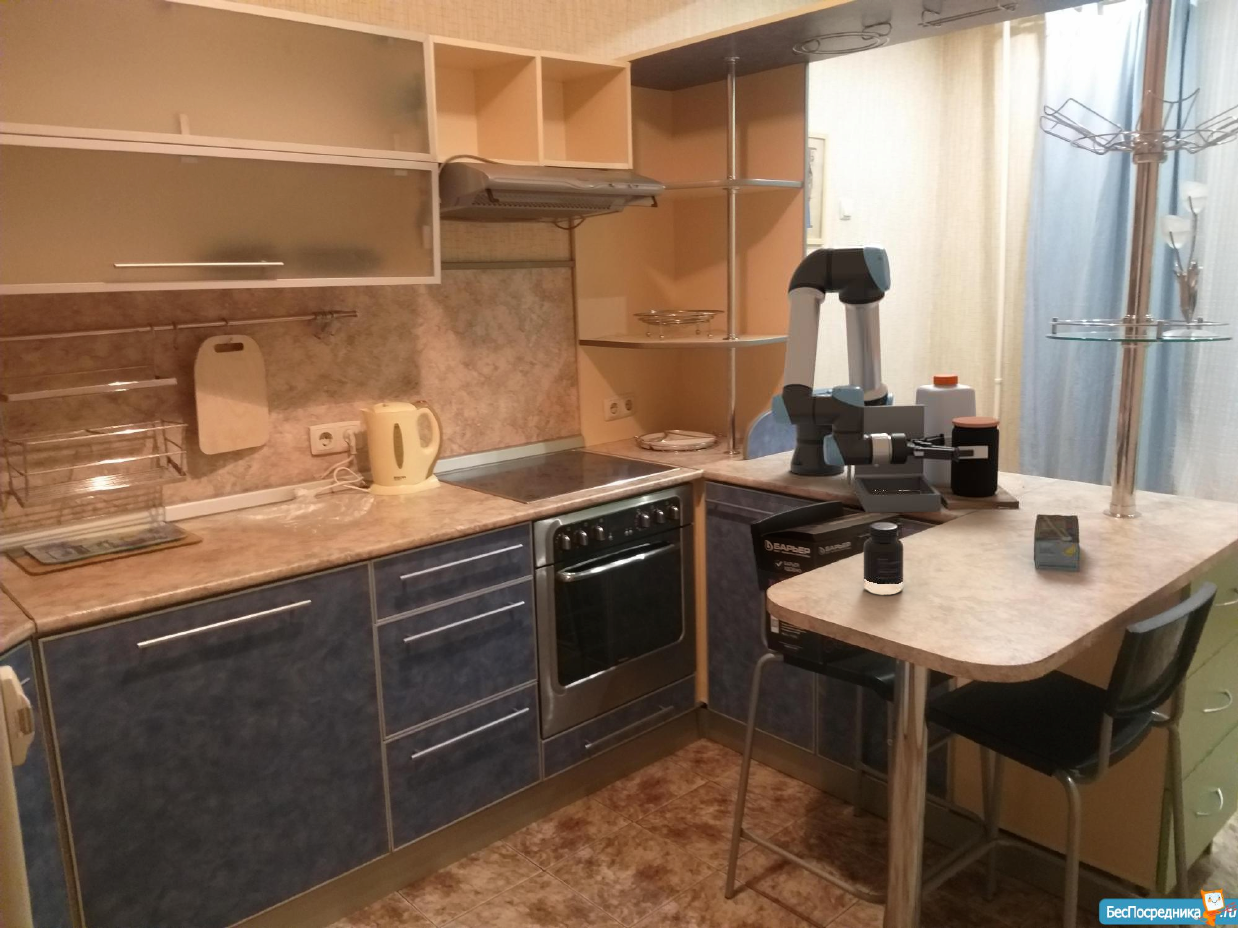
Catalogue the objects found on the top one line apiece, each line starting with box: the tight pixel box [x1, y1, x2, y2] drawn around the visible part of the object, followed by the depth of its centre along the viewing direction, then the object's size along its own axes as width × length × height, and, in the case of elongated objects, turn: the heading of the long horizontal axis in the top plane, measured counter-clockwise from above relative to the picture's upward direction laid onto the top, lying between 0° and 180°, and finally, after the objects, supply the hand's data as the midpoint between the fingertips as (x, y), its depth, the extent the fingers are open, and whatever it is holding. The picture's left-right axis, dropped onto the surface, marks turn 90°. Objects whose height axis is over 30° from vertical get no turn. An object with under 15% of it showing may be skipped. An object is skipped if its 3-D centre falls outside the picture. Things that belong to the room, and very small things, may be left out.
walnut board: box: [934, 484, 1020, 510], centre depth 227 cm, size 18×16×2 cm
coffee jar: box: [950, 416, 1001, 498], centre depth 225 cm, size 11×11×18 cm
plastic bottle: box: [914, 373, 977, 486], centre depth 246 cm, size 15×15×28 cm
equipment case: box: [846, 404, 942, 513], centre depth 230 cm, size 28×18×22 cm
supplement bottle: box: [863, 521, 904, 584], centre depth 166 cm, size 7×7×12 cm
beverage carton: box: [1033, 514, 1080, 573], centre depth 181 cm, size 8×19×7 cm, turn 155°
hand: (979, 446), depth 224 cm, fingers open, 13 cm apart
